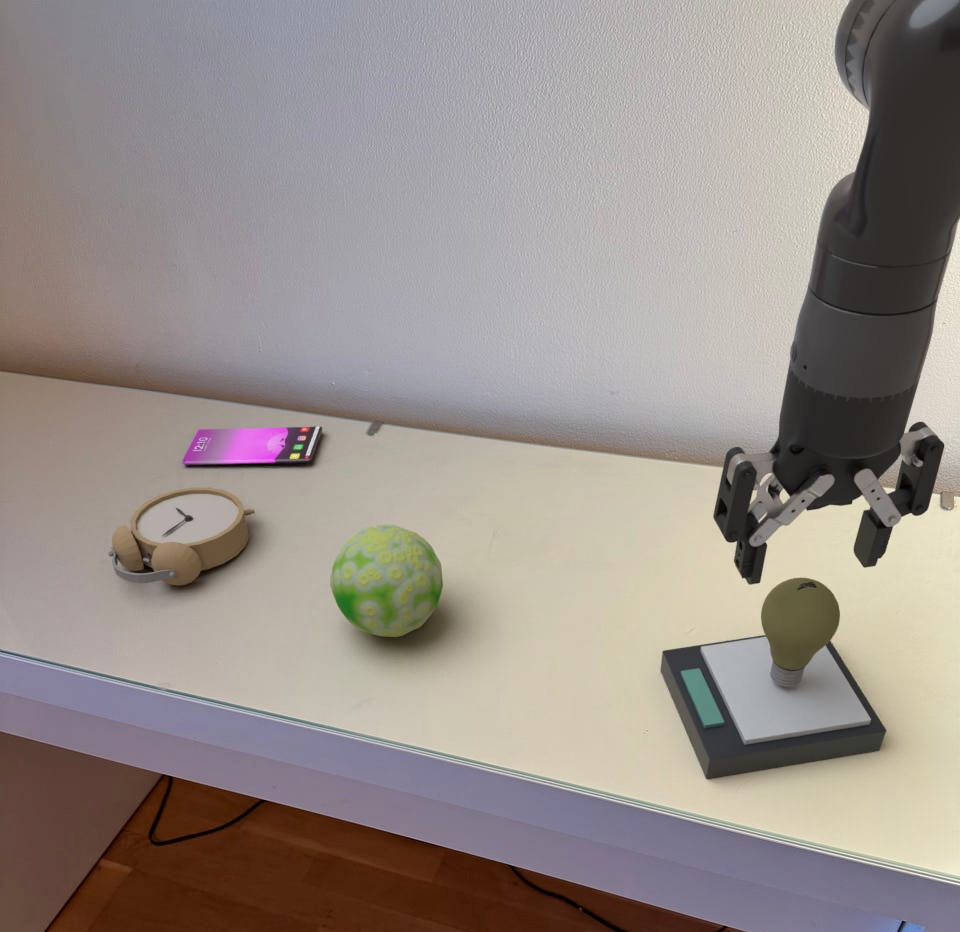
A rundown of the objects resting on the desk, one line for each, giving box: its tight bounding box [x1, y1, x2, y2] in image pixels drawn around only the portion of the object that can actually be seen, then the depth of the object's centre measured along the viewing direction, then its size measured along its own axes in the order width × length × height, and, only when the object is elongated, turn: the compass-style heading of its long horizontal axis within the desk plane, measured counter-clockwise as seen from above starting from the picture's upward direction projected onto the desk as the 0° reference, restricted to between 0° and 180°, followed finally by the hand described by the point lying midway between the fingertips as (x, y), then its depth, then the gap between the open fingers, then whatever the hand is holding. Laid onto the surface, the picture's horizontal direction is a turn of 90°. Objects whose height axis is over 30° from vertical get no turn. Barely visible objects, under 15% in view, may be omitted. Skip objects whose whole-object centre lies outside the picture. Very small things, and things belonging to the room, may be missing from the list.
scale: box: [660, 634, 887, 780], centre depth 77 cm, size 14×12×3 cm
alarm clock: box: [107, 487, 256, 587], centre depth 96 cm, size 11×5×15 cm
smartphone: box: [181, 426, 323, 466], centre depth 111 cm, size 7×15×1 cm, turn 86°
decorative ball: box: [329, 524, 444, 638], centre depth 85 cm, size 10×10×10 cm
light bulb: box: [760, 577, 841, 687], centre depth 73 cm, size 6×6×10 cm
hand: (807, 568), depth 69 cm, fingers open, 8 cm apart
